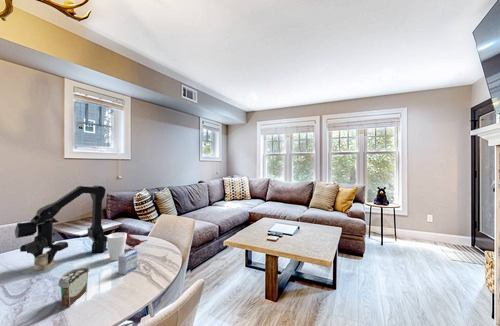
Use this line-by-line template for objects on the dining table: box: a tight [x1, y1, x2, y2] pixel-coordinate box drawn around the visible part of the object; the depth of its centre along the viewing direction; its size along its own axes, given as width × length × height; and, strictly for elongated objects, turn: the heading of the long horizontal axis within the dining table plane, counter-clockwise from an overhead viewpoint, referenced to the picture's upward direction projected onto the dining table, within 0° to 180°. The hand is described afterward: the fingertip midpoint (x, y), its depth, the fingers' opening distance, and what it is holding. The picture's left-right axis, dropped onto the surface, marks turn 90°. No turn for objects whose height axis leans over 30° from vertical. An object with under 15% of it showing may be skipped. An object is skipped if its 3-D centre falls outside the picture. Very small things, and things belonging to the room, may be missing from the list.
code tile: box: [21, 261, 66, 274], centre depth 110 cm, size 12×12×1 cm
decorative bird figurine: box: [125, 232, 148, 249], centre depth 136 cm, size 3×18×10 cm, turn 82°
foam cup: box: [106, 232, 127, 262], centre depth 123 cm, size 10×9×13 cm
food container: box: [57, 266, 90, 308], centre depth 85 cm, size 12×6×10 cm, turn 5°
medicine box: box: [117, 249, 138, 275], centre depth 109 cm, size 8×4×9 cm, turn 168°
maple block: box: [33, 252, 55, 270], centre depth 110 cm, size 4×6×6 cm
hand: (44, 263), depth 110 cm, fingers closed on maple block, 4 cm apart
